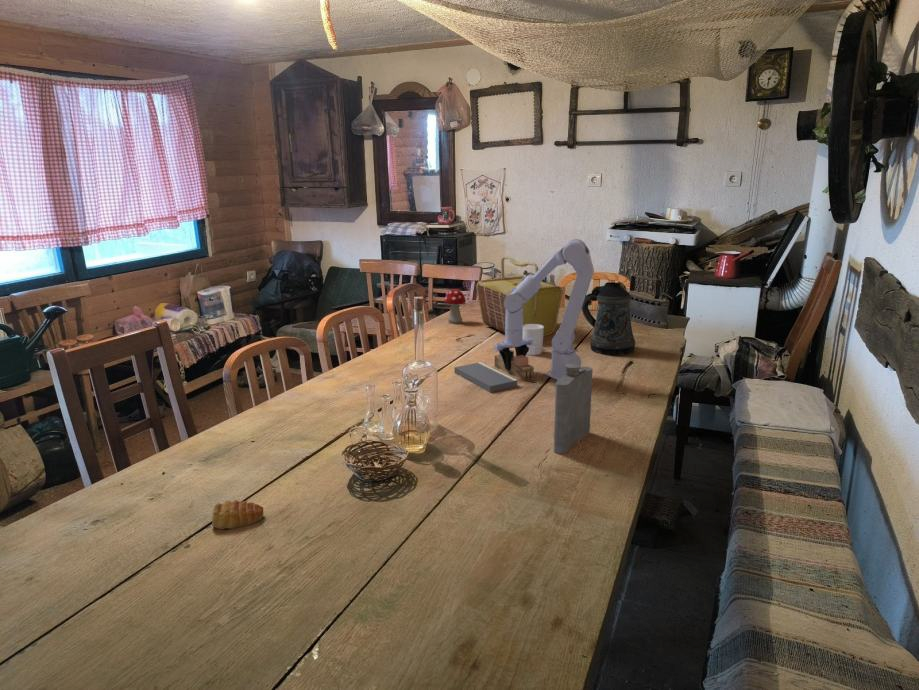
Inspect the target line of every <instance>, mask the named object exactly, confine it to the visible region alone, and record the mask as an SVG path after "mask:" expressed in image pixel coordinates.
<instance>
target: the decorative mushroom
mask: <svg viewBox="0 0 919 690" xmlns="http://www.w3.org/2000/svg"><path fill="white" fill-rule="evenodd" d="M443 302H444V303H445V304H448V305H450V308H449V309H450V310H449V315H448V318H447V321H448V323H449V324H453V325H461V324H462V323H463V317H462V315H461V309H460V305H463V304H465V303H466V302H467V301H466V297H465V296H464V294H463V292H462V291H461V290H459V289H457V288H453V289H450V290H448V291H447V292H446V294H445V296H444V299H443Z"/></svg>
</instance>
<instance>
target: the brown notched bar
mask: <svg viewBox="0 0 919 690" xmlns="http://www.w3.org/2000/svg"><path fill="white" fill-rule="evenodd" d="M494 368H497V369H498V370H500V369H501V370H500V371H502V372H504V373H506V372H507V374H509V375H510V376H513V377H515V378H517V379H519V380H521V381H524V382H525V381H526V379H527V380H528V379H529V380H533V379H534V377H535V376H534V375H535V374H534V373H535V371H534V366H533V365H530V364H528V365H525V366H520V367H519V366H517V365H515V364H513V359H511V369H510V370H507V369H505V365H504V361H503V359H502V358H500V357H499V354H497V355H494ZM532 378H533V379H532Z"/></svg>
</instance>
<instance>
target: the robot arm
mask: <svg viewBox="0 0 919 690" xmlns="http://www.w3.org/2000/svg"><path fill="white" fill-rule="evenodd" d="M567 263H568V264H570V266H572V268H573V270H574V271H575V273H576V277H575V280H574V284H573V287H572V289H571V292H570V295H569V299H568V302H567V304H566V308H565V311H564V314H563V317H562V320H561V323H560V326H559V328H558V329H557V331H556V333H555V335H554V336H552V338H551V339H552V340H551V347H552V348H551V365H550V366H551V368H550V369H551V372H546V373H545V376H547V377H550V378H552V379H554V380H556V381H557V380H558V379H560V378H561V377H562V376H564V375H565V374H566V369H565V365H566V364H569V363H574V364H578V365H580V367H582V360H581V357H580V356H579V354H577V353H576V351H575V347H574V346H573V343H574V342H575V339H576V334H575V331H576V327H577V323H578V320H579V317H580V314H581V311H582V305H583V303H584V300H585V297H586V295H588V294H587V293H588V291H589V289H590V288H589V287H590V284H591V282H592V279H593V275H594V273H595V268H594V265H593V262H592V257H591V253H590V249H589V247H588V245H587V244H586V243H585V242H584V241H583V240H582V239H579V238H578V239H577V238H576V239H575V238H574V239H572V240H569V242H568V243H566V244H565V245H564V246H562V247H561V248H560V249H559V250H557V251H556V252H554V253H553V254H552V255H551V256H550V257H549V259H547V260H546V262H545V263H544V264H543V265H542V266H541V267H540V268H538V269H539V270H538V271H537V272H536V273H535V272H534V274H532V275H531V274H528V275H527V276H526V275H525V276H524V277H523V278H522V279H521V280H522V282H521V283H520V284H519V285H518V286H517V287H516V288H513V289H512V290H511V291H512V293H510V294H509V295H507V296H506V298H505V300H504V307H505V308H506V315H505V333H504V340H503V341H501V342H498V343H494V344H493V351H495V352H500V354H501V356H502V359H503V361H504V365H505V369H507V370H510V369H511V358H512V354H513V352H512V351H513V350H512V351H510V350H511V349H513V348H514V352H515V356H519V355H524V356H526V357H527V352H528V351H529V347H527V345H533V339H531V338H526V339H523V308H522V306H523V305H524V304H525V302H526V301H528V300H529V299H530V298H531V297H532V296H533V295H534V294H535V293H536V292H537V291H538V290H539V289H540V288H541V281H542V282H543V281H544V279H545V278H547V276H549V275H550V274H551V273H552V272H553V271H554V270H555V269H556V268H557V267H558V266H562V265H563V266H564V265H566V264H567ZM509 349H510V350H509Z"/></svg>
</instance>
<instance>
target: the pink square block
mask: <svg viewBox="0 0 919 690" xmlns="http://www.w3.org/2000/svg"><path fill="white" fill-rule="evenodd" d="M513 364H515V365H517V366H519V367H520V366H525V365H529V356H527V355H526V356H524V355H519V356H516V355H514V357H513Z"/></svg>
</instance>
